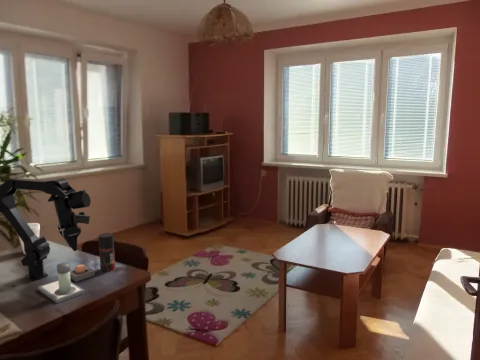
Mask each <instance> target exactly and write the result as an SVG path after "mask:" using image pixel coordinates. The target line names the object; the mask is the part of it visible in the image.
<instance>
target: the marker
mask: <svg viewBox="0 0 480 360" xmlns="http://www.w3.org/2000/svg"><path fill="white" fill-rule="evenodd" d="M70 265H71V264H70V262H67V261H66V262H60V263H58V264H56V271H57V280H58V283H59V292H60V293H67V292H70V291H71V282H72V281H71V280H72V279H70V270H71V266H70Z"/></svg>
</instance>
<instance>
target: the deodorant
mask: <svg viewBox="0 0 480 360" xmlns="http://www.w3.org/2000/svg"><path fill="white" fill-rule="evenodd" d="M97 236H98V252H99V266H100V268H99V269H100V271H101V272H104V273H105V272H111V271H115V269H116V260H115V259H116V256H115V244H114V243H115V239H114V233H111V232H103V233H101V234H98V235H97Z"/></svg>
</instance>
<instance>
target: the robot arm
mask: <svg viewBox="0 0 480 360" xmlns="http://www.w3.org/2000/svg"><path fill="white" fill-rule="evenodd" d="M18 190H24V191H25V190H26V191H27V190H29V191H40V192H43V193H44V194H47V195H49V197H48V199H47V202H49V203H50V202H53V205H54V208H55V213H56V218H57V220H58V221H57V222H58V223H57V224H56V227H57V231H58V233H59V235H61V237H62V238H63V239H64V241H65V242H66V243H67V245H68V246H69V247H70V248H71V249H72V251H73V252H76V251H77V250H78V237H79V236H80V235H81V234H82V227H80V225H79V224H85V225H89V224H90V219H91V215H90V214H89V215H88V214H86V213H85V212H84V211H79V212H78V213H77V214H76V213H75V211H73V210H77V209H83V208H84V209H85V208H88V207H90V205H91V201H92V200H91V196H90V195H89V194H88V193H87V191H86V190H85V189H81V190H78V191H77V190H76V189H75V188H74V187H72V186H71V184H69V182H68V181H67V179H65V178H64V177H62V178H61V177H60V178H53V179H45V180H44V179H37V178H36V179H33V178H21V177H20V178H19V177H17V176H15V177H12V178H11V177H10V178H7V179H6V180H5V181H4V182H3V183H2V184H0V213H2V214H3V215H4V217H5V219H6V220H7V221H8V223H9V224H10V225H11V227H12V229H13V230H14V231H15V233H16V234H17V235H18V237H20V238H21V240H22V241H23V243H24V251H25V253H26V254H25V256H24V257H23V258H22V259H21V261H20V262H21V264H22V266H25V267H27V274H24V277H25V278H27V280H29V281H32V282H33V281H35V280H38V279H42V278H45V277H48V274H47V273H46V272H45V269H44V268H45V265H44V260H46V259H48V255H50V252H51V251H50V250H51V248H50V243H49V242H48V241H47V240H46V238H45V237H44V236H41V237H40V236H39V237H37V236H36V235H35V234H34V232H33V231H32V230H31V228H30V227H29V225H28V224H27V221H26V220H25V218H24V216H23V215H22V214H21V213H20V211H19V210H18V208H17V207H16V200H15V197H14V195H15V194H16V193H17V191H18ZM20 238H19V239H20ZM77 252H78V251H77Z"/></svg>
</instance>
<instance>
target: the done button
mask: <svg viewBox="0 0 480 360" xmlns="http://www.w3.org/2000/svg"><path fill="white" fill-rule="evenodd" d="M85 266H86V264H78V265H75V266H74V269H75V273H76V274H77V275H78V274H81V273H84V272H86V268H85Z"/></svg>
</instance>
